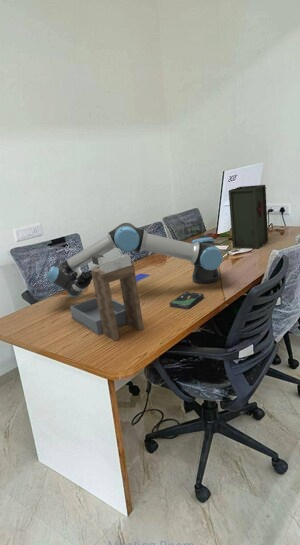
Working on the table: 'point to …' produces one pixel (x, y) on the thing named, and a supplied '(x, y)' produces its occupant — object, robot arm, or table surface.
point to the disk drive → (186, 300)
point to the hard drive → (141, 277)
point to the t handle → (111, 262)
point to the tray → (96, 314)
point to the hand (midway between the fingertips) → (94, 265)
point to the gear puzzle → (217, 236)
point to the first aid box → (248, 216)
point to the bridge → (106, 303)
